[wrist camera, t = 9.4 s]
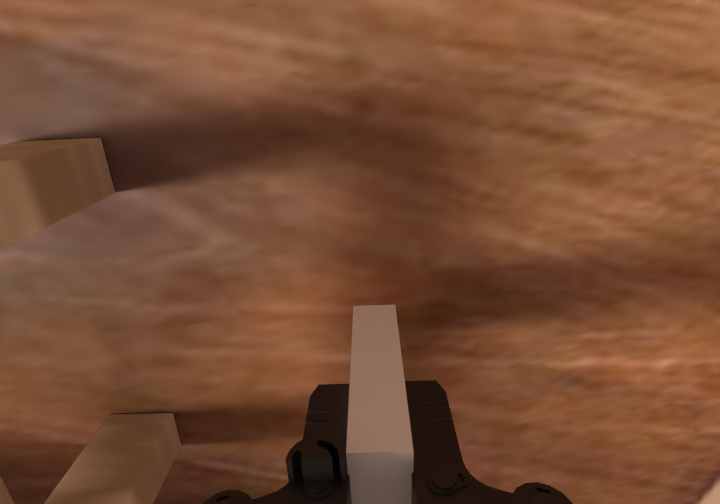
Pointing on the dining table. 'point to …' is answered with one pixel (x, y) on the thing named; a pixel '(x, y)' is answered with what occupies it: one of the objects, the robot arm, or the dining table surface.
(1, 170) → the bridge
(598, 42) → the dining table surface
